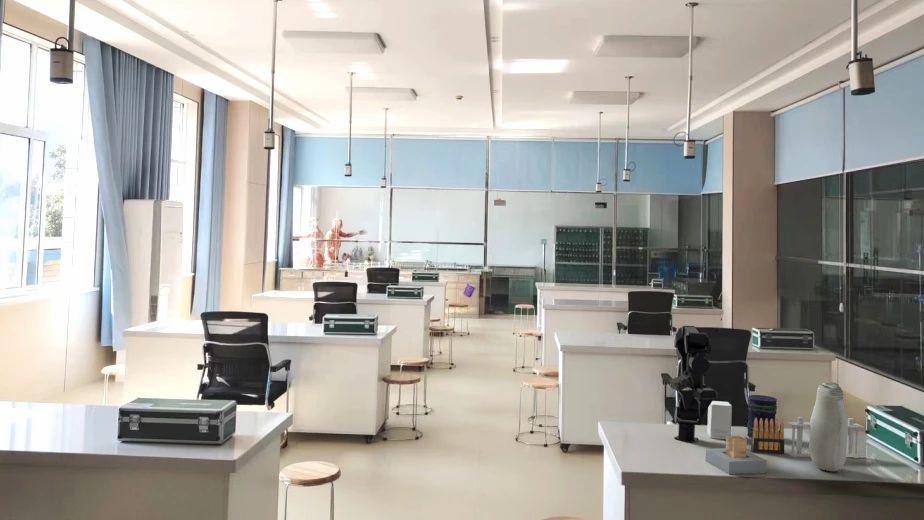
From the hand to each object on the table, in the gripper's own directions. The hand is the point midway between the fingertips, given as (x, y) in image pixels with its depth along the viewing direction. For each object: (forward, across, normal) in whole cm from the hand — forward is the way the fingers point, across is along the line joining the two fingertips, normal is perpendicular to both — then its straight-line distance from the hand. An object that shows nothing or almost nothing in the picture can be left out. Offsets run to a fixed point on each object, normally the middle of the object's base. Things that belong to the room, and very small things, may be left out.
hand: (693, 413), depth 229 cm
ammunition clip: (+13, +4, +27) cm, 30 cm away
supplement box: (+13, -16, +20) cm, 29 cm away
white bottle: (+13, +23, +34) cm, 43 cm away
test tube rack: (+13, +9, +45) cm, 48 cm away
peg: (+12, +17, +5) cm, 22 cm away
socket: (+13, +17, +5) cm, 22 cm away
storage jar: (+13, -14, +36) cm, 41 cm away
